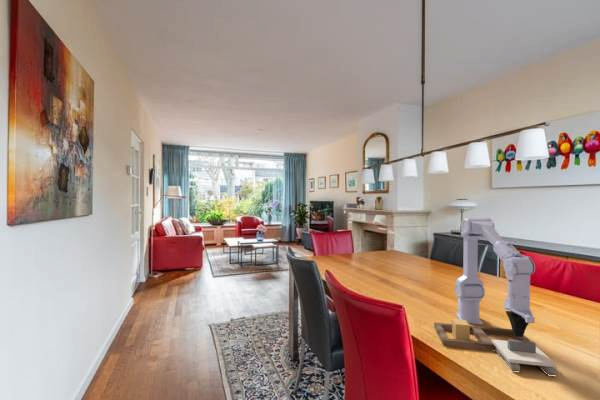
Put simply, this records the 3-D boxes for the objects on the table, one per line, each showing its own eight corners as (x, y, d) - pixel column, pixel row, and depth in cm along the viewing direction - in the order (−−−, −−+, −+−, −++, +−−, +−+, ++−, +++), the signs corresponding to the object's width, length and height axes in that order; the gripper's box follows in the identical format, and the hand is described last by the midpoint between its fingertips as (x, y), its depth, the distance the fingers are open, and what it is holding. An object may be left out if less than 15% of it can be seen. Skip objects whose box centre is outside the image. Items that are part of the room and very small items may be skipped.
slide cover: (492, 342, 98) (492, 330, 98) (532, 346, 95) (532, 334, 95) (508, 362, 86) (508, 349, 86) (555, 367, 83) (556, 353, 83)
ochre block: (452, 334, 108) (452, 318, 108) (465, 336, 107) (465, 320, 107) (455, 340, 104) (455, 324, 104) (469, 342, 103) (469, 325, 103)
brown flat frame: (434, 327, 114) (434, 322, 114) (518, 335, 107) (518, 329, 107) (453, 365, 89) (453, 358, 89) (564, 378, 82) (564, 371, 82)
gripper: (494, 286, 100) (494, 324, 100) (515, 301, 86) (515, 345, 86) (517, 287, 99) (517, 326, 99) (542, 303, 84) (542, 348, 85)
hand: (518, 335), depth 93 cm, fingers closed
